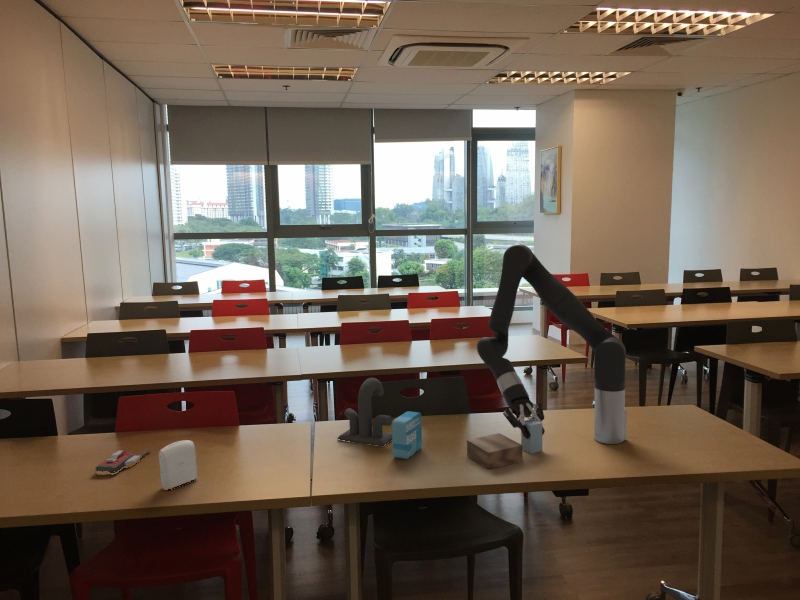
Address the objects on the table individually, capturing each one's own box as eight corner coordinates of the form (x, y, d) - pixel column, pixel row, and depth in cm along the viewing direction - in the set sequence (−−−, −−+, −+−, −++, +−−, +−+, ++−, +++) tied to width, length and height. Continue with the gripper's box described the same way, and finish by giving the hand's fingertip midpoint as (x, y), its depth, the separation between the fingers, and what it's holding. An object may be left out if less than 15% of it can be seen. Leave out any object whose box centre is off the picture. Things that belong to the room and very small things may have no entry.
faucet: (405, 431, 214) (403, 375, 212) (385, 447, 200) (383, 387, 198) (359, 425, 222) (357, 371, 219) (336, 440, 208) (334, 382, 205)
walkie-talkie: (120, 478, 183) (153, 453, 202) (118, 464, 182) (152, 440, 202) (92, 478, 184) (128, 452, 203) (90, 463, 183) (126, 439, 203)
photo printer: (166, 492, 171) (163, 449, 170) (158, 488, 174) (155, 446, 172) (200, 480, 179) (196, 438, 177) (191, 476, 182) (188, 435, 180)
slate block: (533, 446, 197) (533, 418, 196) (542, 450, 193) (542, 423, 192) (521, 448, 195) (521, 421, 194) (530, 453, 191) (530, 425, 190)
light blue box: (405, 461, 188) (404, 422, 187) (392, 458, 190) (391, 421, 189) (422, 447, 199) (421, 411, 197) (409, 445, 201) (408, 409, 200)
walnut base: (499, 448, 196) (499, 433, 196) (522, 461, 185) (522, 445, 185) (467, 455, 191) (466, 439, 191) (488, 469, 180) (488, 452, 180)
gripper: (498, 386, 195) (522, 434, 186) (535, 379, 201) (559, 426, 192) (489, 398, 201) (511, 445, 192) (525, 391, 207) (548, 437, 198)
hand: (535, 435), depth 192 cm, fingers closed on slate block, 4 cm apart
